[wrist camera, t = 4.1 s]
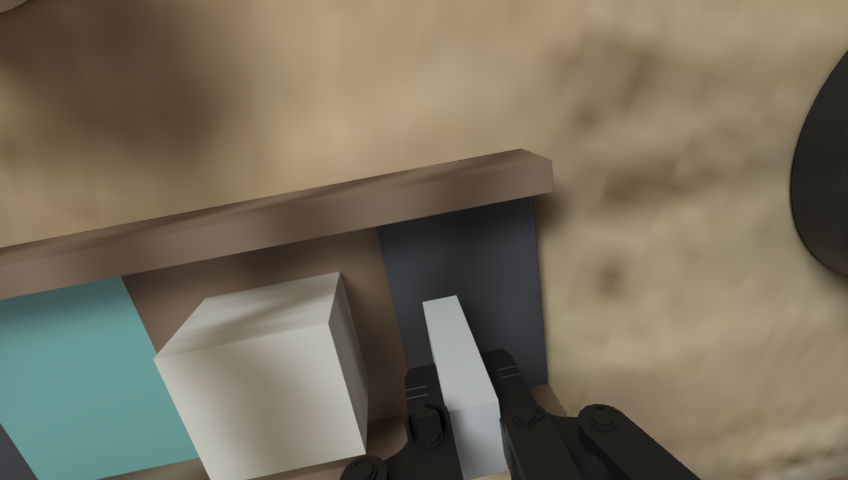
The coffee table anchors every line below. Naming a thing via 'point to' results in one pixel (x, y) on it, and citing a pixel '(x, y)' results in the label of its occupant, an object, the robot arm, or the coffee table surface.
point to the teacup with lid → (10, 4)
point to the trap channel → (327, 253)
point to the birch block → (270, 379)
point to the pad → (85, 385)
